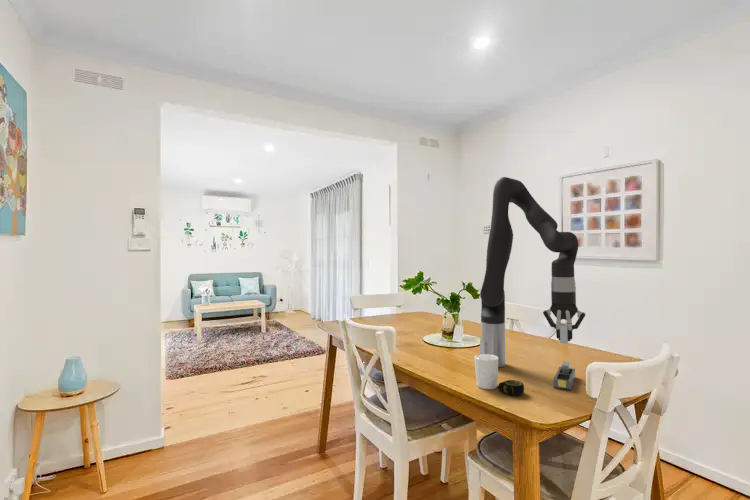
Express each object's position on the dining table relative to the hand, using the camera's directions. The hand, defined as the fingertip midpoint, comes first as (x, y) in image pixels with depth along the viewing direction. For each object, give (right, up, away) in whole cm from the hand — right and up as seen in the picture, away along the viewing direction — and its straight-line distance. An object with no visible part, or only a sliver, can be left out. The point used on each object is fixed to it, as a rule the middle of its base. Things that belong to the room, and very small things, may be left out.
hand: (564, 340), depth 131 cm
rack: (+1, -15, +2) cm, 16 cm away
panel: (0, -1, 0) cm, 1 cm away
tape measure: (-21, -16, -6) cm, 27 cm away
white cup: (-27, -16, 0) cm, 31 cm away
